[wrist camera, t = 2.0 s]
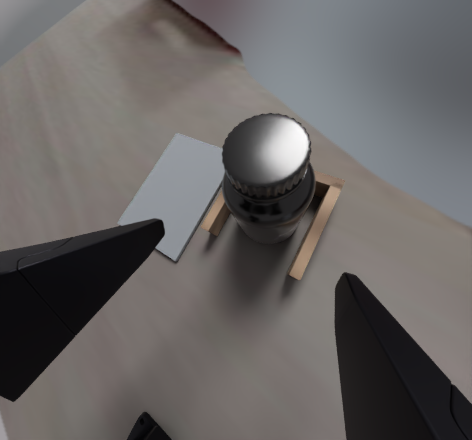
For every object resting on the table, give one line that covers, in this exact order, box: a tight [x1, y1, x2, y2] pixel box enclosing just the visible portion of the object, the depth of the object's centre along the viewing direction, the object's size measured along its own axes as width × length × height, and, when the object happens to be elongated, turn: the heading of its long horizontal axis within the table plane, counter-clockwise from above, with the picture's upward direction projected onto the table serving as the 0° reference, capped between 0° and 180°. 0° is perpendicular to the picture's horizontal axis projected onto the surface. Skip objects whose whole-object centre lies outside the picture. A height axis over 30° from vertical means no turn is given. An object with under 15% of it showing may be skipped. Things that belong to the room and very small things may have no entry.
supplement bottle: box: [222, 113, 316, 244], centre depth 15 cm, size 7×7×12 cm
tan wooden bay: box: [201, 171, 345, 280], centre depth 19 cm, size 10×11×3 cm
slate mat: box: [118, 133, 225, 261], centre depth 24 cm, size 16×11×1 cm
